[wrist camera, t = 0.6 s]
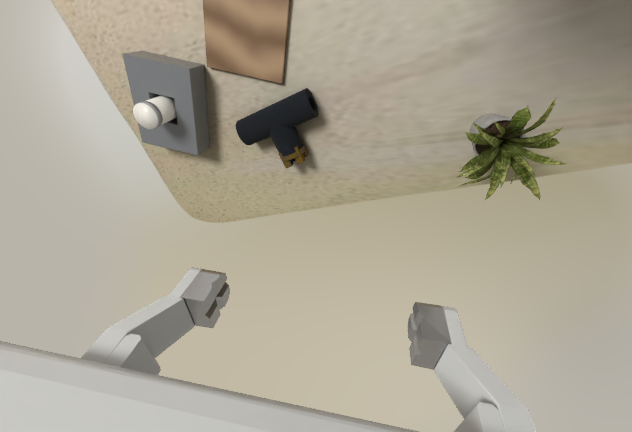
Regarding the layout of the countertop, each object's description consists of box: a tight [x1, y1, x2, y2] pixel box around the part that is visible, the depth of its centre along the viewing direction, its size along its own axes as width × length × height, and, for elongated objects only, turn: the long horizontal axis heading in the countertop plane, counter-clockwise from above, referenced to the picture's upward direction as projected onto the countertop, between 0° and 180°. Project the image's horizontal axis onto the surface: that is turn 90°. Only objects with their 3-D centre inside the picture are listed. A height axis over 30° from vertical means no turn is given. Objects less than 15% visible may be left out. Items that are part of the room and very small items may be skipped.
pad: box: [203, 0, 290, 83], centre depth 45 cm, size 14×14×1 cm
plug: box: [133, 95, 177, 129], centre depth 51 cm, size 4×4×10 cm
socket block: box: [123, 51, 210, 156], centre depth 53 cm, size 16×12×5 cm
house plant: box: [458, 99, 565, 199], centre depth 41 cm, size 14×14×16 cm
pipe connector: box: [236, 88, 318, 168], centre depth 53 cm, size 12×5×15 cm
